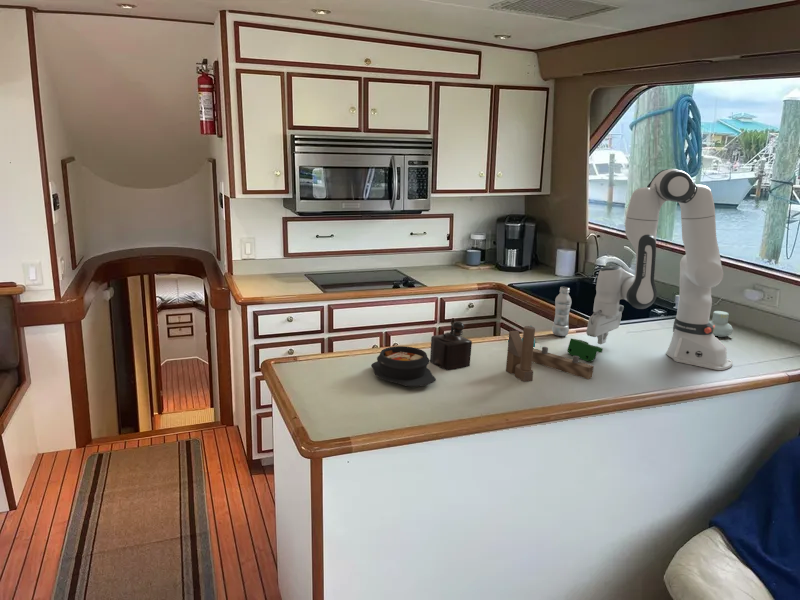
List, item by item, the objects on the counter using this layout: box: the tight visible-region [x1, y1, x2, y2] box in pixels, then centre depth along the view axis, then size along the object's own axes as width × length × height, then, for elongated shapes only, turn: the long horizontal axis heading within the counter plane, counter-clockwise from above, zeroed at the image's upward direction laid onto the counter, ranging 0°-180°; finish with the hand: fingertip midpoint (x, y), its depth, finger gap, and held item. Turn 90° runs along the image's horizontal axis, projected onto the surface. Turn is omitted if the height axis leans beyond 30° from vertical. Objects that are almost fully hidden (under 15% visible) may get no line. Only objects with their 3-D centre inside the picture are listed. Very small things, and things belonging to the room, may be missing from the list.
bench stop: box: [532, 346, 594, 380], centre depth 218 cm, size 24×3×6 cm, turn 46°
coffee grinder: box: [429, 317, 473, 371], centre depth 214 cm, size 16×11×18 cm
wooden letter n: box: [505, 325, 536, 383], centre depth 208 cm, size 4×11×18 cm, turn 24°
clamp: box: [566, 338, 604, 363], centre depth 232 cm, size 12×6×9 cm, turn 23°
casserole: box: [371, 345, 437, 388], centre depth 204 cm, size 25×19×8 cm
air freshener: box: [709, 310, 734, 338], centre depth 265 cm, size 11×8×10 cm
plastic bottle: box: [551, 286, 572, 337], centre depth 254 cm, size 6×7×20 cm
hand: (601, 343), depth 240 cm, fingers closed
